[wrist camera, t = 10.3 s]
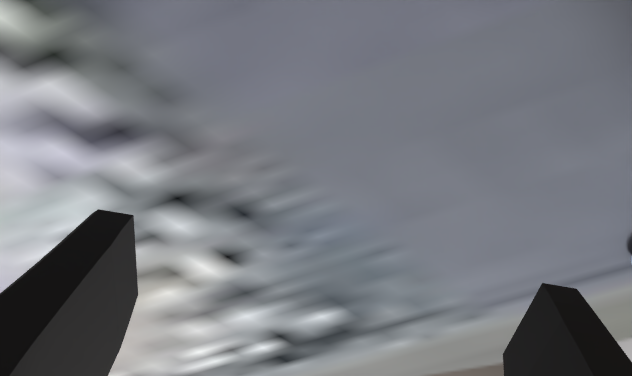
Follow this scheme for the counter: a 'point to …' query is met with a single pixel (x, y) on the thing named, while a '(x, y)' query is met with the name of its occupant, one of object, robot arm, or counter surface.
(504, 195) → the counter surface
